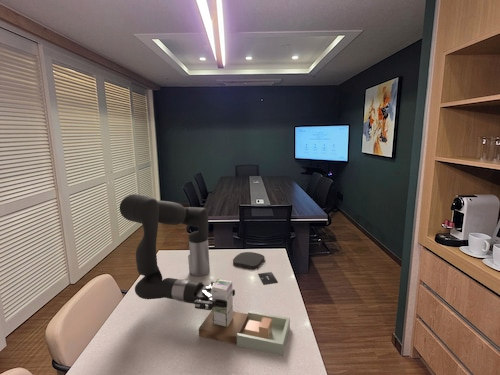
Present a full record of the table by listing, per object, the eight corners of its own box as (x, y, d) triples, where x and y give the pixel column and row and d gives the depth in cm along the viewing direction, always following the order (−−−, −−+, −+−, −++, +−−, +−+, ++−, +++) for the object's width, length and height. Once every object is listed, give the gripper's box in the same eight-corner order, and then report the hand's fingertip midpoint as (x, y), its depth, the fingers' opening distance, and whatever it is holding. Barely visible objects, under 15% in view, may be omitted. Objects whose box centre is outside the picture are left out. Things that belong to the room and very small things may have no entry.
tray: (237, 345, 92) (236, 335, 91) (249, 320, 104) (248, 310, 103) (282, 355, 87) (282, 344, 86) (289, 328, 99) (289, 318, 99)
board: (199, 336, 96) (198, 328, 96) (213, 314, 107) (213, 307, 107) (237, 344, 92) (237, 336, 91) (248, 321, 103) (248, 314, 103)
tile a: (244, 337, 95) (244, 329, 94) (249, 327, 99) (249, 319, 99) (259, 340, 93) (259, 332, 92) (263, 330, 98) (263, 322, 97)
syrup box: (233, 317, 101) (232, 280, 98) (227, 328, 95) (226, 289, 93) (218, 314, 103) (217, 277, 100) (211, 325, 97) (210, 286, 94)
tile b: (258, 326, 92) (267, 328, 91) (263, 317, 97) (271, 318, 96) (259, 340, 93) (268, 342, 92) (263, 330, 98) (271, 331, 97)
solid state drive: (263, 285, 128) (263, 284, 128) (257, 275, 137) (257, 273, 137) (278, 283, 129) (278, 282, 129) (271, 273, 139) (271, 271, 139)
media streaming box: (255, 271, 141) (255, 265, 141) (230, 266, 147) (230, 260, 147) (266, 259, 154) (266, 254, 153) (243, 254, 160) (242, 250, 160)
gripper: (176, 292, 94) (222, 300, 89) (196, 272, 107) (237, 278, 102) (177, 312, 95) (223, 321, 90) (197, 290, 109) (238, 296, 104)
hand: (230, 298), depth 96 cm, fingers open, 6 cm apart
